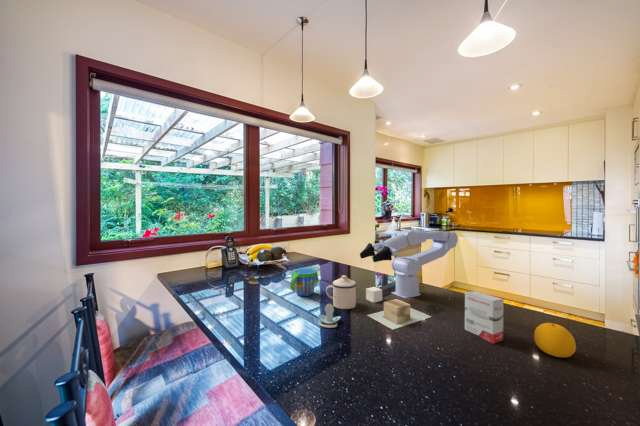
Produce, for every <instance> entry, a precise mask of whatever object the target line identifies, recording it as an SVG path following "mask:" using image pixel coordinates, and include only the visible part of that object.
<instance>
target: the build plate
mask: <svg viewBox="0 0 640 426" xmlns="http://www.w3.org/2000/svg"><path fill="white" fill-rule="evenodd" d="M366 316H367V317H369V318H371V319H373V320H375V321H376V322H379V323H380V324H382V325H384V326H385V327H387V328H389V329H390V330H396V329H399V328H402V327H405V326H408V325H411V324H414V323H417V322H419V321H423V320H426V319H430V318H432V315H429V314H426V313H424V312H422V311H419V310H417V309H414V308H412V307H410V320H408V321H405V322H401V323H398V324H396V323H395V322H393V321H391V320H389V319H387V318H385V317H384V310H381V311H378V312H374V313H370V314H366Z"/></svg>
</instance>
